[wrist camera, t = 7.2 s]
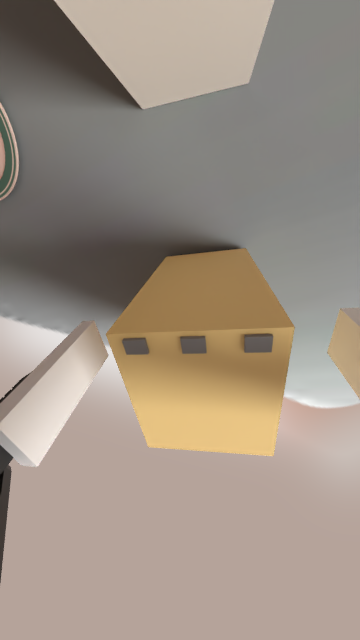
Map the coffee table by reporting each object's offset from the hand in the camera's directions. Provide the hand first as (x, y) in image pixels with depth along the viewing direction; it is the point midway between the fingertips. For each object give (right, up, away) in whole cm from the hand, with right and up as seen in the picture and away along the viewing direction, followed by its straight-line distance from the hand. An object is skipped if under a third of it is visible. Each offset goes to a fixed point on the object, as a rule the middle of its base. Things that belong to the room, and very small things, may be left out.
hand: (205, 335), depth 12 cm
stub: (+1, +3, +6) cm, 7 cm away
